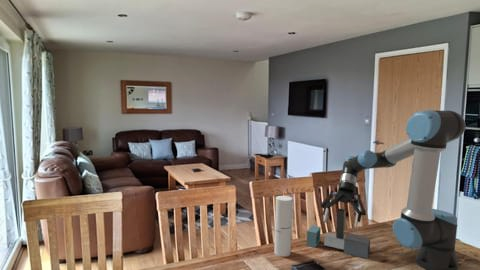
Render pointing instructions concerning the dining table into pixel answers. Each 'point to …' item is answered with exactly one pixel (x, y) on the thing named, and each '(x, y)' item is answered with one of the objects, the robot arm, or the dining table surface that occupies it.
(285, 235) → the cylindrical container
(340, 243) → the gray bar with post
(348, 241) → the matte charcoal box
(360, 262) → the dining table surface
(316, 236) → the socket block
